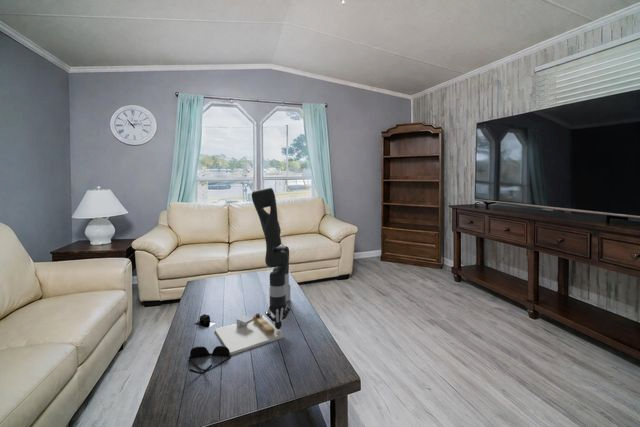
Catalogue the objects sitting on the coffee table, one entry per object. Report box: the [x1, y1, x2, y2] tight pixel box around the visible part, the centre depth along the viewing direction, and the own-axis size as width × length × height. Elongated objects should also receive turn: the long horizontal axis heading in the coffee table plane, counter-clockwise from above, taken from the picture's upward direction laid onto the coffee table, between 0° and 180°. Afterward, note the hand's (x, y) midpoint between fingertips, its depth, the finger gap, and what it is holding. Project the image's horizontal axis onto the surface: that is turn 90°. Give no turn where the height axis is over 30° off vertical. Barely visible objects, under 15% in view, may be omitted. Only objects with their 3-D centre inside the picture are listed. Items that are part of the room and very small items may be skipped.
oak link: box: [252, 312, 274, 335], centre depth 145 cm, size 18×4×3 cm, turn 34°
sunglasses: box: [188, 345, 232, 375], centre depth 116 cm, size 17×14×5 cm
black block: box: [194, 313, 216, 329], centre depth 151 cm, size 12×7×5 cm, turn 65°
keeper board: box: [214, 314, 285, 356], centre depth 140 cm, size 25×24×6 cm
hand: (278, 328), depth 141 cm, fingers closed
